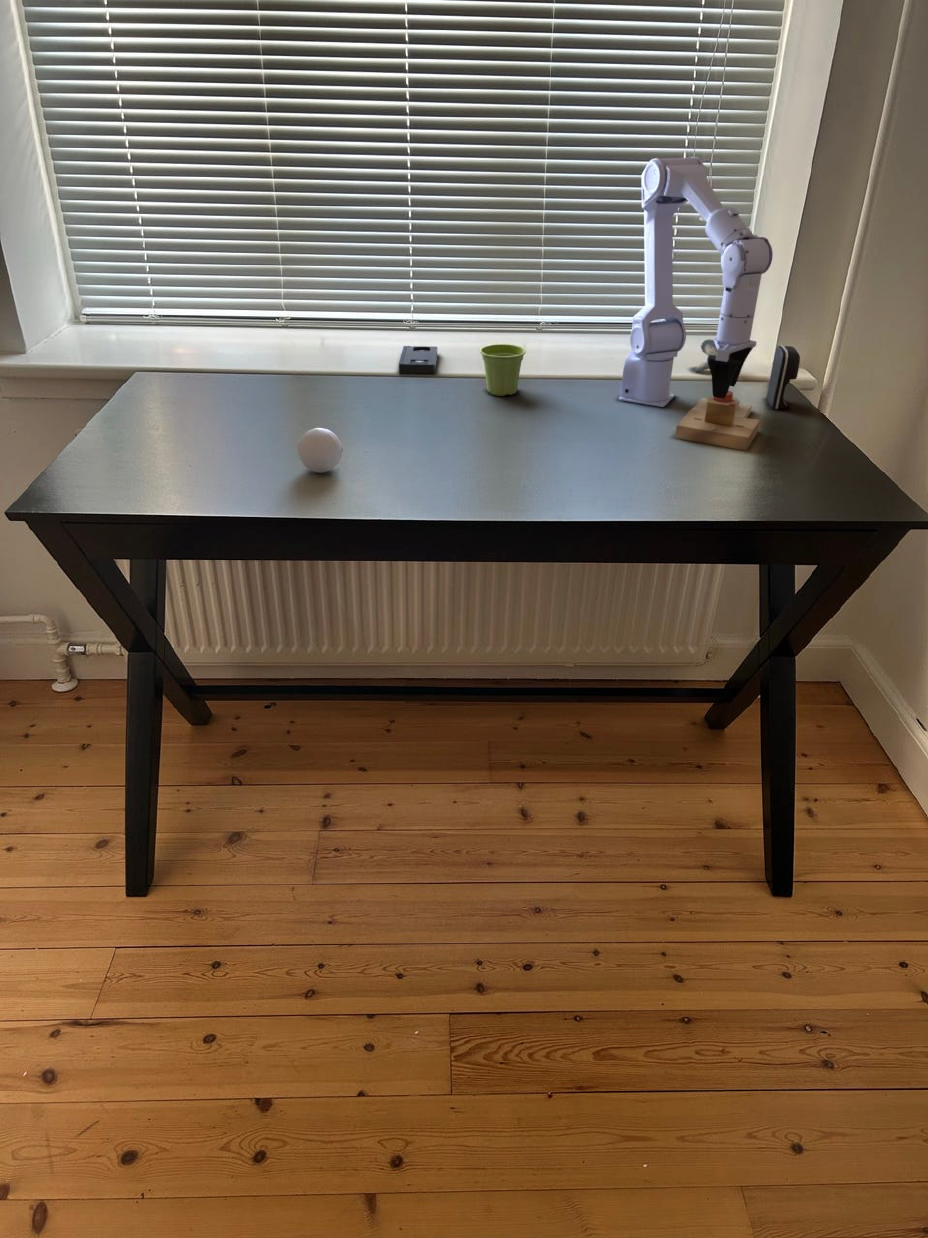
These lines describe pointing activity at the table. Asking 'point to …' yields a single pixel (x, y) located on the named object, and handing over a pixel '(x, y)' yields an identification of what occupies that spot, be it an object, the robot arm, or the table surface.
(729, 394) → the bell button
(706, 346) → the eagle figurine
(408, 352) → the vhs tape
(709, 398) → the bell block
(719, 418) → the thumb turn
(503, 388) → the plant pot
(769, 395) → the battery charger
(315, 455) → the white ball
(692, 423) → the plate
